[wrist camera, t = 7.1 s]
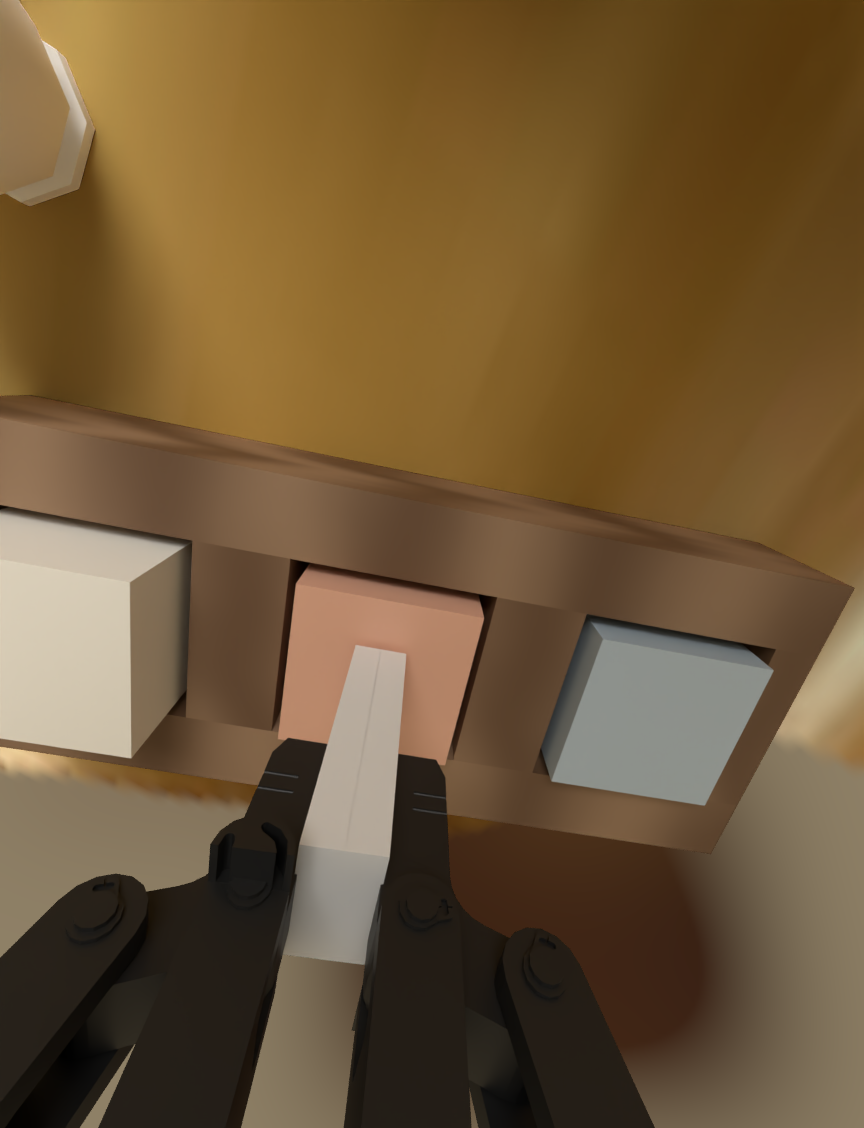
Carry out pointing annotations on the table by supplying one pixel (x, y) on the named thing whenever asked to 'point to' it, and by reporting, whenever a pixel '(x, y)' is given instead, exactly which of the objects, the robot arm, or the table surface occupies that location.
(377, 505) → the key block
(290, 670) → the terracotta key
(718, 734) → the slate key
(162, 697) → the ivory key
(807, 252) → the table surface
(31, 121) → the cup
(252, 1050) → the robot arm
